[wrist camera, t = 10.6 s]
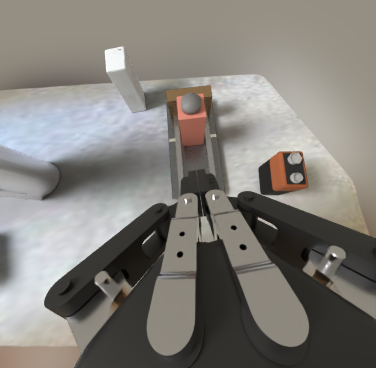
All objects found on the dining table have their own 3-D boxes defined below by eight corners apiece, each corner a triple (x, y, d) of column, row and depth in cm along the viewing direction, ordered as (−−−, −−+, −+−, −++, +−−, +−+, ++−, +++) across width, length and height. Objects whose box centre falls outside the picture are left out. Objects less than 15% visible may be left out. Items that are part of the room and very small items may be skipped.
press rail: (223, 194, 34) (231, 188, 26) (173, 198, 34) (167, 194, 27) (210, 101, 40) (213, 75, 32) (167, 106, 40) (161, 82, 33)
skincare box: (130, 96, 41) (104, 49, 30) (144, 93, 41) (124, 45, 30) (131, 113, 40) (105, 72, 28) (146, 111, 40) (126, 67, 28)
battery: (276, 167, 35) (307, 148, 25) (279, 195, 33) (314, 186, 23) (257, 167, 35) (281, 148, 25) (260, 194, 33) (286, 186, 24)
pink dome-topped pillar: (203, 144, 35) (206, 112, 24) (183, 146, 35) (177, 115, 24) (201, 126, 36) (203, 87, 25) (181, 128, 36) (175, 91, 25)
